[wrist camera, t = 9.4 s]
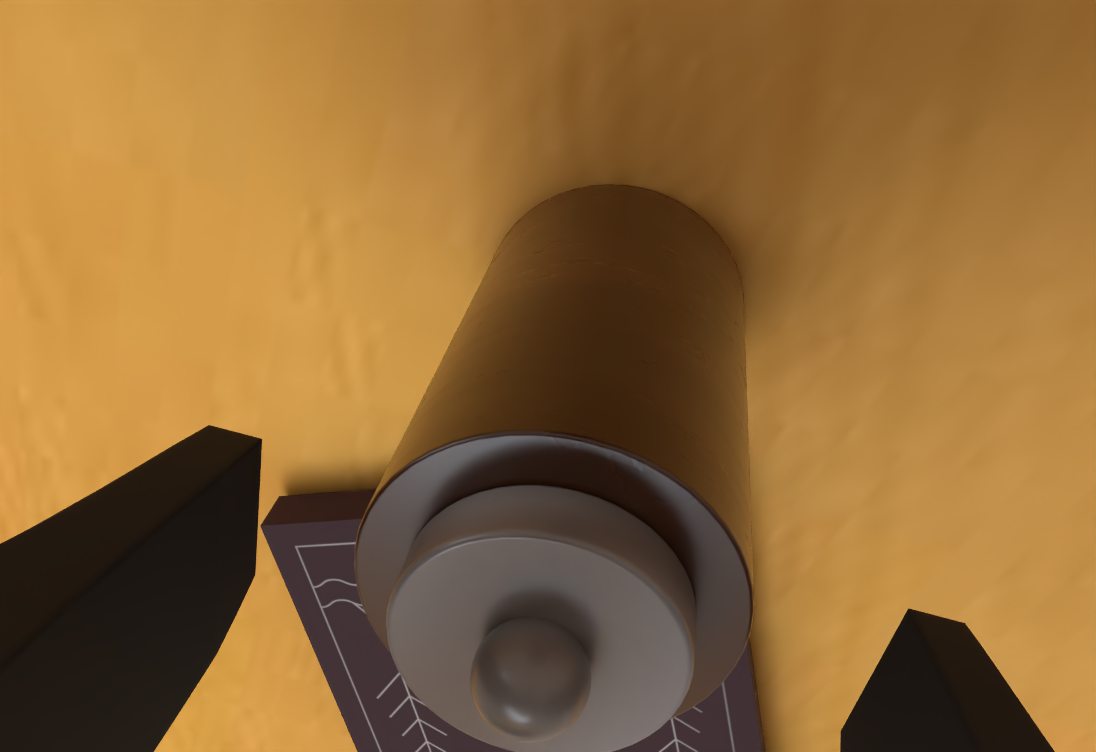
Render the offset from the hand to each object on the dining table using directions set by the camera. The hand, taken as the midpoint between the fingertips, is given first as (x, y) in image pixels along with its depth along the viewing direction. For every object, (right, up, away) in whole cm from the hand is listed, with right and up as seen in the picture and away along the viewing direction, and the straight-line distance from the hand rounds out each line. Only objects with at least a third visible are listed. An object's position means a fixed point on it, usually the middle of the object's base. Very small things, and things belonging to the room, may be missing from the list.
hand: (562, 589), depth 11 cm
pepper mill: (+1, +3, +6) cm, 7 cm away
